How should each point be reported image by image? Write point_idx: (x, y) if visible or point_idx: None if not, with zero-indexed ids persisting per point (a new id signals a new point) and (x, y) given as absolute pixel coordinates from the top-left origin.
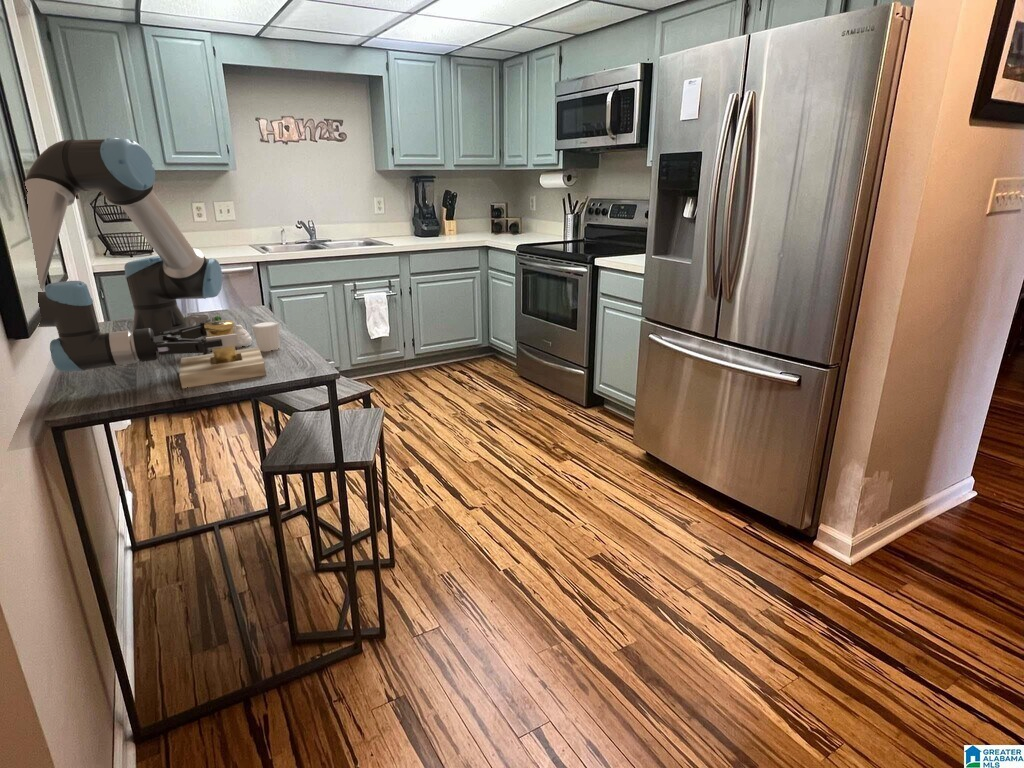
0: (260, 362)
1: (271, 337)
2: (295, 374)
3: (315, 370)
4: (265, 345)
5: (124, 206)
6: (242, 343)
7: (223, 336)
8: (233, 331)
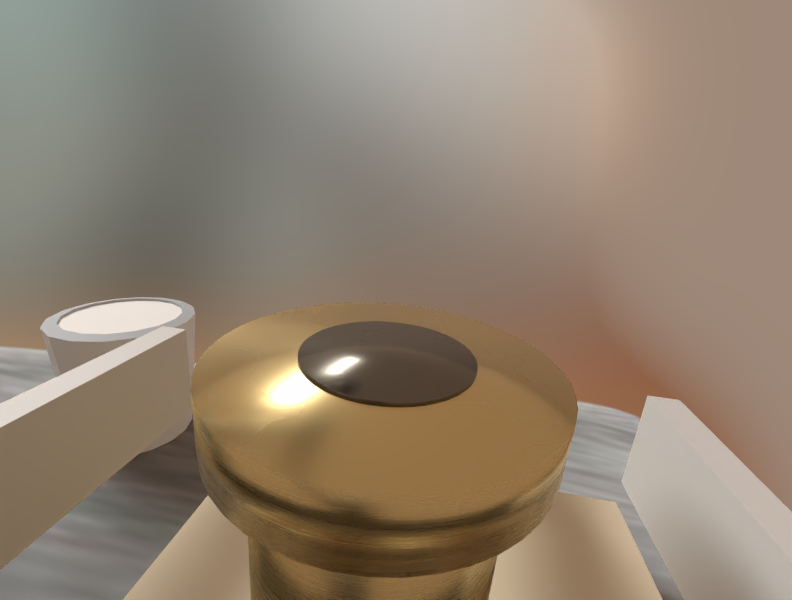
0: (594, 512)
1: (189, 369)
2: (621, 472)
3: (585, 422)
4: None
5: None
6: None
7: (760, 485)
8: (183, 403)
